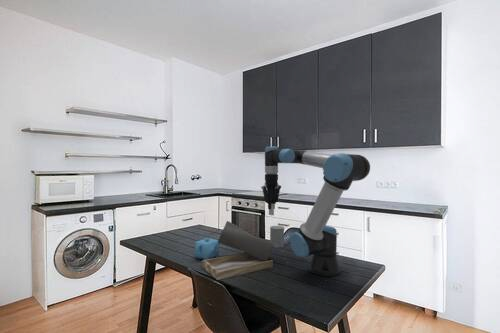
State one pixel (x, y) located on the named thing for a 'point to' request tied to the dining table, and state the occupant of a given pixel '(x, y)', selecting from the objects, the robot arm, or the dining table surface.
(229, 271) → the tray
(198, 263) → the dining table surface
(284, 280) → the dining table surface
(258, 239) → the vase
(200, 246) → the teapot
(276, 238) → the grey cylinder
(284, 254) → the dining table surface
